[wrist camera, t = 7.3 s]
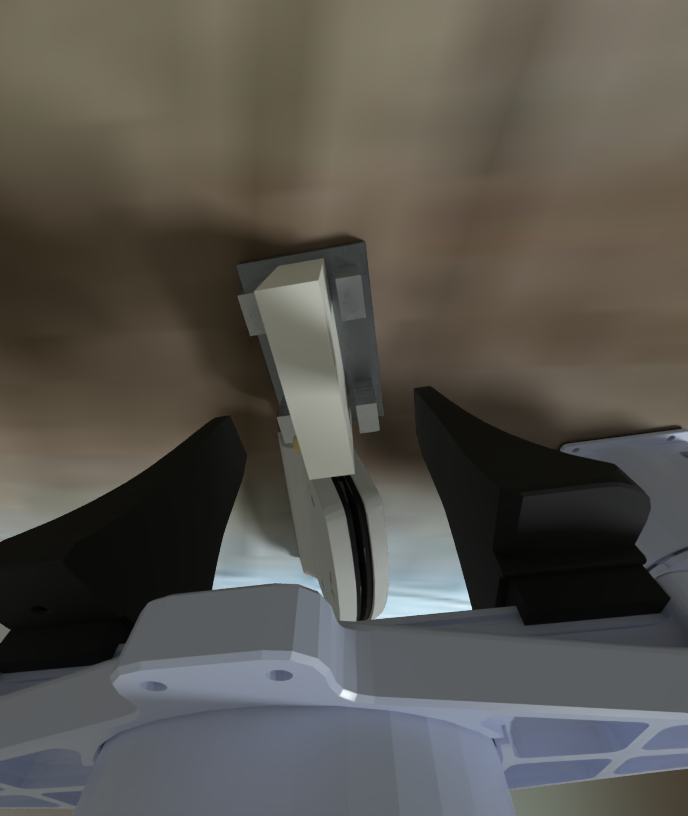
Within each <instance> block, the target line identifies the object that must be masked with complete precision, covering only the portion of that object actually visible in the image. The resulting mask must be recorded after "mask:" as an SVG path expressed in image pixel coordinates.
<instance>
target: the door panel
mask: <svg viewBox="0 0 688 816" xmlns="http://www.w3.org/2000/svg"><path fill="white" fill-rule="evenodd" d="M254 294H255V297H256V300H257V304H258V307H259V311H260V314H261V317H262V321H263V324H264V328H265V331H266V334H267V338H268V341H269V344H270V348H271V351H272V355H273V358H274V361H275V365H276V368H277V372H278V375H279V378H280V382H281V385H282V389H283V392H284V395H285V399H286V402H287V405H288V409H289V412H290V416H291V419H292V422H293V426H294V429H295V433H296V436H293V449H294V452H295V454H302V456H303V460H304V463H305V467H306V470H307V473H308V477H309V480H312V479H320V478H327V477H335V476H343V475H351V474H355V468H354V452H353V436H352V421H351V410H350V405H349V399H348V393H347V387H346V381H345V376H344V370H343V364H342V358H341V353H340V347H339V341H338V335H337V330H336V324H335V318H334V312H333V307H332V301H331V295H330V289H329V284H328V278H327V272H326V266H325V261H324V258H321V259H316V260H310V261H304V262H299V263H293V264H287V265H281V266H278V267H277V268H276V269H275V270H274V271H273V272H272V273H271V274H270V275H269V276H268V277H267V278H266V279H265V280H264V281H263V282H262V283H261V284H260V285H259V287H258V288H257V289H256V290H255V291H254Z"/></svg>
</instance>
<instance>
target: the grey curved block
mask: <svg viewBox="0 0 688 816" xmlns="http://www.w3.org/2000/svg"><path fill="white" fill-rule="evenodd" d="M278 438H279V444H280V450H281V455H282V461H283V466H284V472H285V478H286V483H287V489H288V495H289V500H290V506H291V512H292V517H293V523H294V529H295V534H296V540H297V545H298V551H299V557H300V561H301V564H302V568H303V571H304V573H305V574H306V575H309V576H312V577H315V578H317V579H318V581H319V584H320V587H321V590H322V593H323V596H324V599H325V600H326V601H327V602H328V603H329V604H330V605H331V607H332V609H333V612H334V615H335V618H336V620H340V621H352V622H354V621H365V620H373V619H375V618H376V617H377V616H379V615H380V614H381V613H382V612H383V610H384V608H385V605H386V601H387V596H388V588H389V556H388V542H387V533H386V525H385V518H384V511H383V504H382V501H381V497H380V495H379V492H378V490H377V489H376V487H375V485H374V483H373V481H372V479H371V478H370V476H369V474H368V472H367V470H366V469H365V467H364V465H363V463H362V461H361V459H360V458H359V456H358V454H357V452H356V450H355V449H354V447H353V452H354V468H355V474H351V475H343V476H335V477H327V478H320V479H312V480H309V477H308V473H307V470H306V467H305V463H304V460H303V456H302V454H295V452H294V449H293V443H286V444H285V442H284V439H283V436H282V433H281V432H278Z"/></svg>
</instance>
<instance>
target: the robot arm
mask: <svg viewBox="0 0 688 816" xmlns="http://www.w3.org/2000/svg"><path fill="white" fill-rule="evenodd" d="M414 401H415V420H416V433H417V437H418V441H419V445H420V448H421V452H422V455H423V457H424V460H425V462H426V465H427V467H428V470H429V472H430V474H431V477H432V479H433V482H434V484H435V486H436V489H437V491H438V494H439V496H440V498H441V501H442V504H443V506H444V509H445V512H446V515H447V519H448V522H449V526H450V529H451V532H452V536H453V539H454V543H455V546H456V550H457V553H458V557H459V561H460V564H461V568H462V572H463V575H464V579H465V583H466V587H467V590H468V594H469V598H470V602H471V606H472V610H468V611H458V612H448V613H437V614H427V615H416V616H406V617H396V618H385V619H375V620H365V621H354V622H352V621H340V620H336V618H335V615H334V612H333V609H332V607H331V605H330V604H329V603H328V602H327V601H326V600H325V599H324V598H323V597H322V596H321V594H319V593H318V592H317V591H315V590H312V589H309V588H307V587H304V586H301V585H299V584H278V583H274V584H264V585H255V586H246V587H236V588H227V589H218V590H212V586H213V581H214V576H215V571H216V566H217V561H218V556H219V552H220V547H221V543H222V539H223V535H224V532H225V528H226V525H227V522H228V519H229V516H230V514H231V511H232V508H233V505H234V502H235V499H236V496H237V494H238V491H239V488H240V485H241V482H242V478H243V474H244V469H245V464H246V457H247V454H246V452H245V450H244V447H243V445H242V442H241V440H240V438H239V435H238V433H237V430H236V428H235V426H234V423H233V421H232V419H231V416H223V417H216V418H214V419H212V420H211V421H209V422H208V423H207V424H205V425H204V426H203V427H201V428H200V429H199V430H198V431H196V432H195V433H194V434H193V435H191V436H190V437H189V438H188V439H186V440H185V441H184V442H182V443H181V444H180V445H179V446H177V447H176V448H175V449H174V450H172V451H171V452H170V453H168V454H167V455H166V456H164V457H163V458H161V459H160V460H159V461H157V462H156V463H155V464H153V465H152V466H151V467H149V468H148V469H146V470H145V471H143V472H142V473H140V474H139V475H137V476H135V477H134V478H132V479H131V480H129V481H128V482H126V483H124V484H123V485H121V486H119V487H117V488H115V489H114V490H112V491H110V492H108V493H106V494H105V495H103V496H101V497H99V498H97V499H96V500H94V501H92V502H90V503H88V504H86V505H84V506H82V507H80V508H78V509H76V510H74V511H72V512H69V513H67V514H65V515H63V516H61V517H59V518H56V519H54V520H52V521H50V522H47V523H45V524H43V525H40V526H38V527H35V528H33V529H30V530H28V531H25V532H23V533H21V534H18V535H16V536H13V537H11V538H8V539H5V540H3V541H1V542H0V623H1V624H2V625H4V626H5V627H7V628H8V629H11V630H10V632H9V633H8V634H7V635H6V637H5V638H4V639H3V641H2V642H1V643H0V808H1V809H11V808H12V809H13V808H14V809H24V808H25V809H75V810H74V813H73V814H72V816H516V812H515V809H514V806H513V802H512V799H511V795H510V792H509V791H510V790H517V789H525V788H533V787H541V786H548V785H557V784H565V783H572V782H581V781H589V780H597V779H605V778H613V777H621V776H628V775H636V774H644V773H653V772H661V771H670V770H679V769H687V768H688V430H687V429H678V430H670V431H662V432H654V433H647V434H639V435H631V436H623V437H615V438H608V439H600V440H592V441H584V442H576V443H568V444H565V445H563V446H562V447H561V449H560V451H557V450H554V449H550V448H547V447H544V446H541V445H538V444H535V443H532V442H529V441H526V440H524V439H521V438H518V437H516V436H513V435H511V434H508V433H506V432H504V431H502V430H500V429H498V428H495V427H493V426H491V425H489V424H487V423H485V422H483V421H482V420H480V419H478V418H476V417H475V416H473V415H471V414H470V413H468V412H466V411H465V410H463V409H462V408H460V407H459V406H457V405H456V404H454V403H453V402H451V401H450V400H449V399H447V398H446V397H444V396H443V395H442V394H440V393H439V392H438V391H436V390H435V389H434V388H432V387H431V386H427V387H420V388H414Z"/></svg>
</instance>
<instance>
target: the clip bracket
mask: <svg viewBox="0 0 688 816" xmlns="http://www.w3.org/2000/svg"><path fill="white" fill-rule="evenodd" d="M321 258H324V261H325V266H326V272H327V278H328V284H329V289H330V295H331V301H332V307H333V312H334V318H335V324H336V330H337V335H338V341H339V347H340V353H341V358H342V364H343V370H344V376H345V381H346V387H347V393H348V399H349V405H350V410H351V420H357V419H358V423H359V429H360V433H367V432H375V431H380V428H379V420H378V417H379V416H384V409H383V399H382V390H381V381H380V372H379V363H378V353H377V344H376V335H375V326H374V317H373V307H372V298H371V289H370V280H369V271H368V261H367V252H366V243H365V241H358V242H352V243H347V244H341V245H335V246H330V247H324V248H319V249H313V250H307V251H302V252H296V253H290V254H285V255H279V256H273V257H268V258H262V259H256V260H251V261H245V262H240V263H239V264H237V265H236V267H237V270H238V274H239V277H240V280H241V283H242V287H243V291H242V292H241V293H240V294H239V295H237V297H238V300H239V303H240V306H241V309H242V312H243V315H244V318H245V322H246V325H247V328H248V331H249V334H250V336H254V335H258V338H259V341H260V344H261V348H262V351H263V354H264V357H265V361H266V364H267V367H268V370H269V373H270V377H271V380H272V383H273V386H274V390H275V393H276V396H277V399H278V402H279V406H280V407H279V410H278V414H277V420H278V423H279V427H280V430H281V433H282V436H283V439H284V442H285V444H286V443H293V436H296V433H295V429H294V426H293V422H292V419H291V416H290V412H289V409H288V405H287V402H286V399H285V395H284V392H283V389H282V385H281V382H280V378H279V375H278V372H277V368H276V365H275V361H274V358H273V355H272V351H271V348H270V344H269V341H268V338H267V334H266V331H265V328H264V324H263V321H262V317H261V314H260V311H259V307H258V304H257V300H256V297H255V294H254V291H255V290H256V289H257V288H258V287H259V285H260V284H261V283H262V282H263V281H264V280H265V279H266V278H267V277H268V276H269V275H270V274H271V273H272V272H273V271H274V270H275V269H276V268H277V267H278V266H281V265H287V264H293V263H299V262H304V261H310V260H316V259H321Z"/></svg>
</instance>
